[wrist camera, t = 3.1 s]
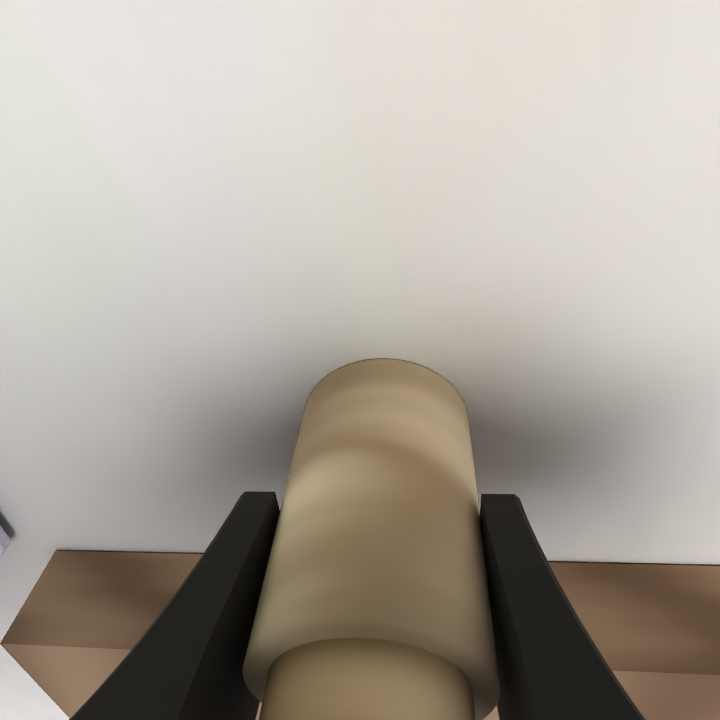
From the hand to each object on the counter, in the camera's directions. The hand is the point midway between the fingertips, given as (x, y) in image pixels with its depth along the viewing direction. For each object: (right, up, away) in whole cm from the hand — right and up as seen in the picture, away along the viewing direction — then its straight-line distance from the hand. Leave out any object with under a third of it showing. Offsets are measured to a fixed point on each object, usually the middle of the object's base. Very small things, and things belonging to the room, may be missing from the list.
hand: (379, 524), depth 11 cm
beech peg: (0, +2, +2) cm, 3 cm away
